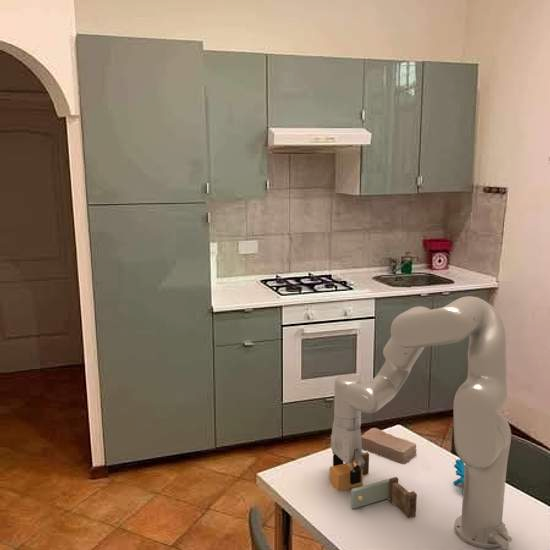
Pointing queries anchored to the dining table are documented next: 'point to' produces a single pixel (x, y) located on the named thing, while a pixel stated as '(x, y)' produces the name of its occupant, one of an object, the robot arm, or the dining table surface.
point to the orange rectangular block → (342, 476)
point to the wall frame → (396, 492)
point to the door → (369, 493)
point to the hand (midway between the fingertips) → (346, 474)
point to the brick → (388, 445)
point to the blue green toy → (459, 471)
